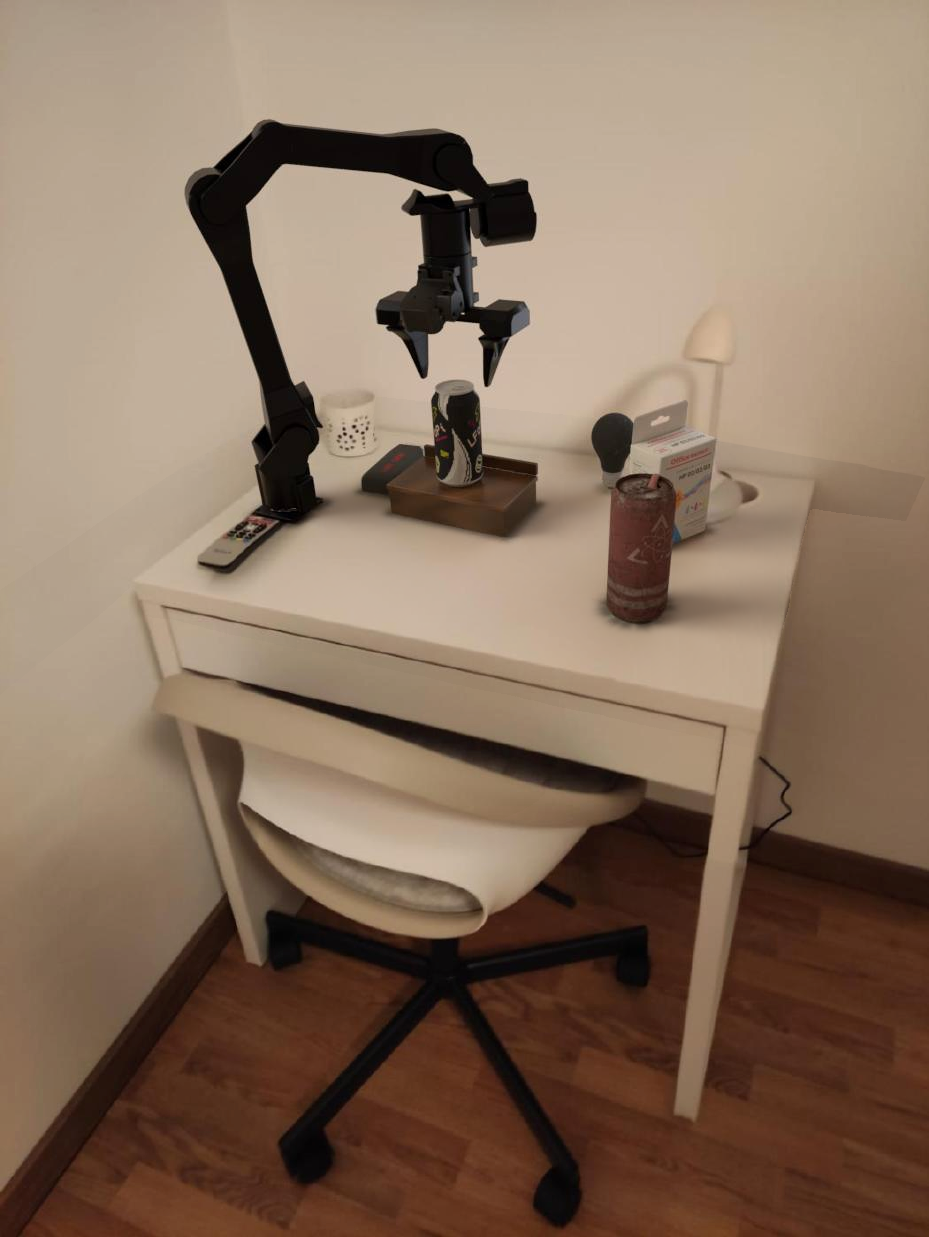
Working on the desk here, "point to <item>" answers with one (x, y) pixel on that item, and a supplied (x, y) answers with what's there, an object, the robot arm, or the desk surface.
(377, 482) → the usb drive
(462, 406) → the beverage can
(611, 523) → the can
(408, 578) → the desk surface
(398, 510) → the step shelf
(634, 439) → the ink box
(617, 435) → the light bulb
